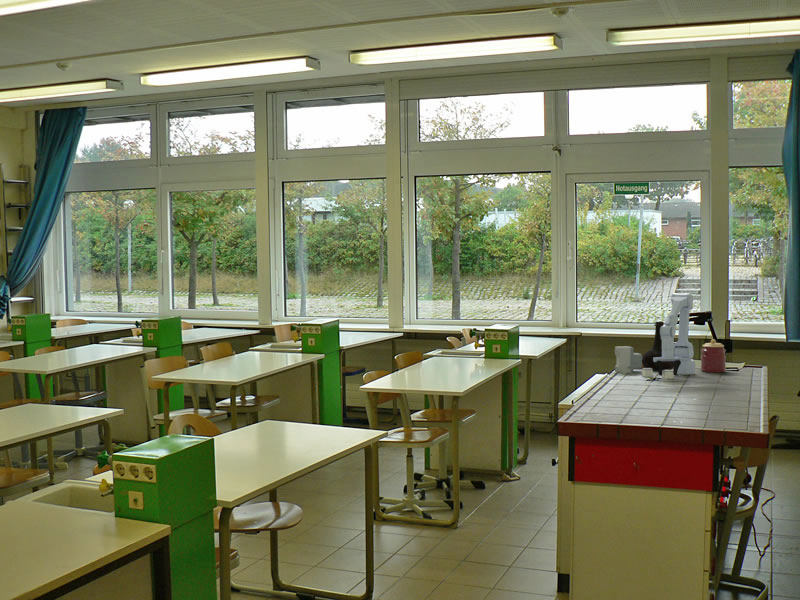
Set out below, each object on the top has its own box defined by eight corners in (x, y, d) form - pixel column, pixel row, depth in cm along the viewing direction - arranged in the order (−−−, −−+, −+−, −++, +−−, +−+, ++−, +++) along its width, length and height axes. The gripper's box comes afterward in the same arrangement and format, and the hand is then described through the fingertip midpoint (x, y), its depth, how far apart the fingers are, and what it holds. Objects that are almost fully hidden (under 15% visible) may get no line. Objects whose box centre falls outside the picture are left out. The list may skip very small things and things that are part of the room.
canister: (701, 372, 445) (701, 340, 444) (699, 369, 457) (699, 338, 457) (726, 373, 441) (726, 340, 440) (724, 369, 454) (724, 338, 453)
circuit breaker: (644, 375, 437) (644, 347, 437) (618, 375, 438) (618, 347, 437) (641, 373, 445) (640, 346, 444) (614, 373, 445) (614, 346, 445)
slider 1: (649, 375, 425) (649, 367, 425) (652, 376, 421) (652, 368, 421) (642, 375, 424) (642, 368, 424) (645, 376, 420) (645, 369, 420)
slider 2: (669, 377, 416) (669, 369, 416) (673, 378, 412) (673, 370, 412) (662, 377, 416) (662, 369, 416) (665, 378, 412) (665, 371, 412)
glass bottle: (635, 371, 453) (634, 321, 452) (659, 369, 461) (659, 319, 460) (657, 375, 437) (657, 323, 436) (682, 372, 445) (682, 321, 444)
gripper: (657, 349, 409) (657, 376, 409) (684, 349, 410) (684, 376, 411) (651, 348, 416) (651, 374, 417) (678, 347, 417) (678, 374, 418)
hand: (667, 375), depth 414 cm, fingers open, 7 cm apart
